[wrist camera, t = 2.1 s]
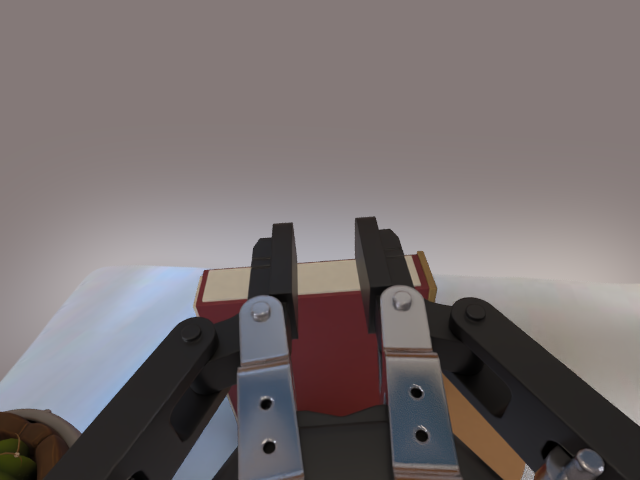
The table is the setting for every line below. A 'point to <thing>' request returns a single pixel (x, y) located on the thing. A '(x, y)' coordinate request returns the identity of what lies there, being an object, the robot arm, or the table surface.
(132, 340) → the table surface
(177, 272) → the table surface
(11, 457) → the flowerpot
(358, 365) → the book
